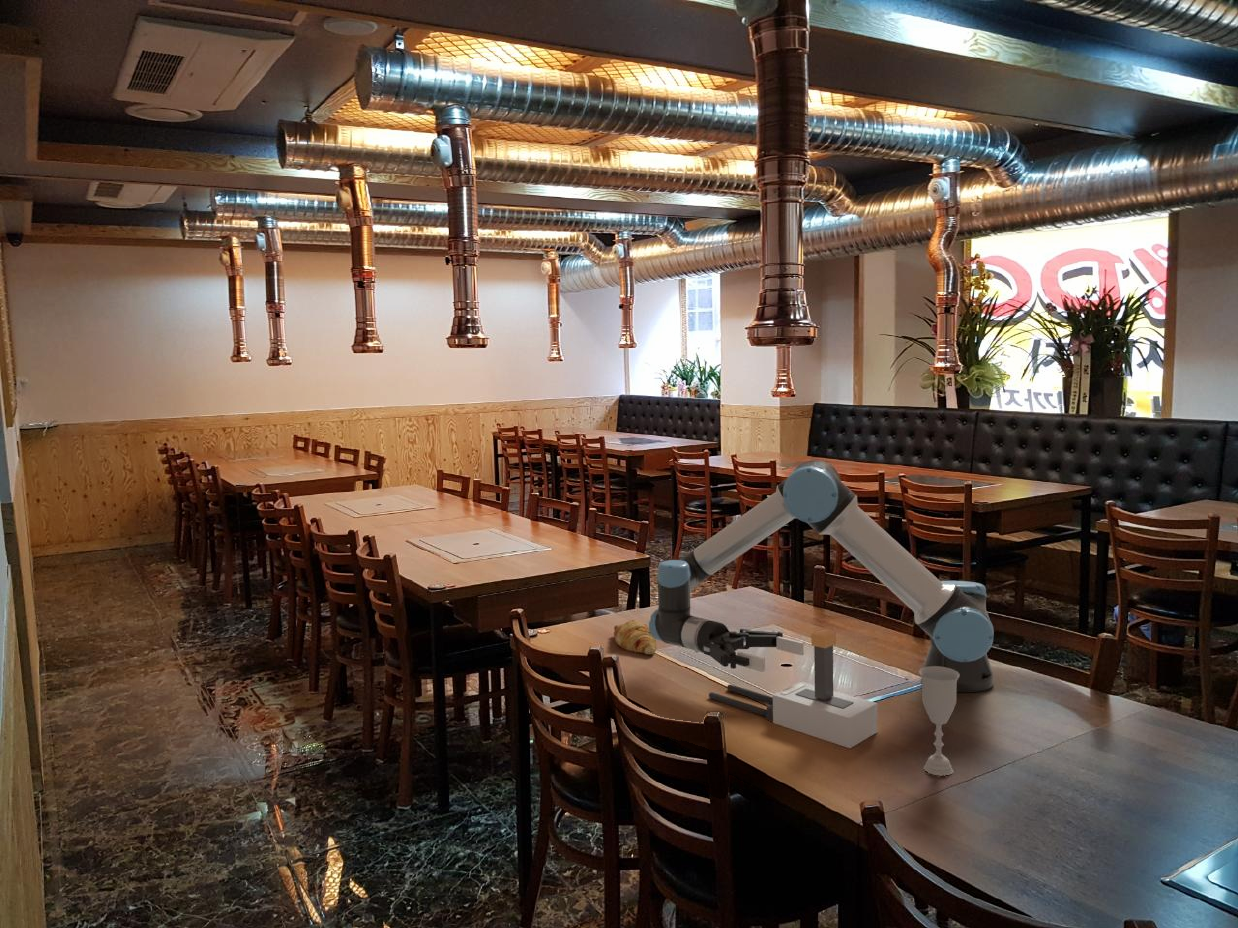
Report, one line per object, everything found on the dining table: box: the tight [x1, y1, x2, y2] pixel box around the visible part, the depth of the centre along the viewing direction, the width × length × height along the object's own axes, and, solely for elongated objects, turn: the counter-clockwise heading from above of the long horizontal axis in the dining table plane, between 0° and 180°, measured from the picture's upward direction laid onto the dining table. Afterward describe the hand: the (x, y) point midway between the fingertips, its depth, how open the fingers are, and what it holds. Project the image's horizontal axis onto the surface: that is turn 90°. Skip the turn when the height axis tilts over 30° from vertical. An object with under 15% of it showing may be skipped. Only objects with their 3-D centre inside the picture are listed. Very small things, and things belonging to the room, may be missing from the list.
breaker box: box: [772, 681, 878, 749], centre depth 177 cm, size 18×10×6 cm, turn 44°
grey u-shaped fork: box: [708, 684, 773, 722], centre depth 190 cm, size 19×9×3 cm, turn 44°
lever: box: [810, 629, 837, 700], centre depth 175 cm, size 3×4×13 cm
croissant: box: [613, 619, 657, 656], centre depth 233 cm, size 21×10×8 cm, turn 28°
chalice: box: [918, 666, 960, 777], centre depth 156 cm, size 7×7×18 cm
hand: (783, 656), depth 183 cm, fingers open, 13 cm apart
